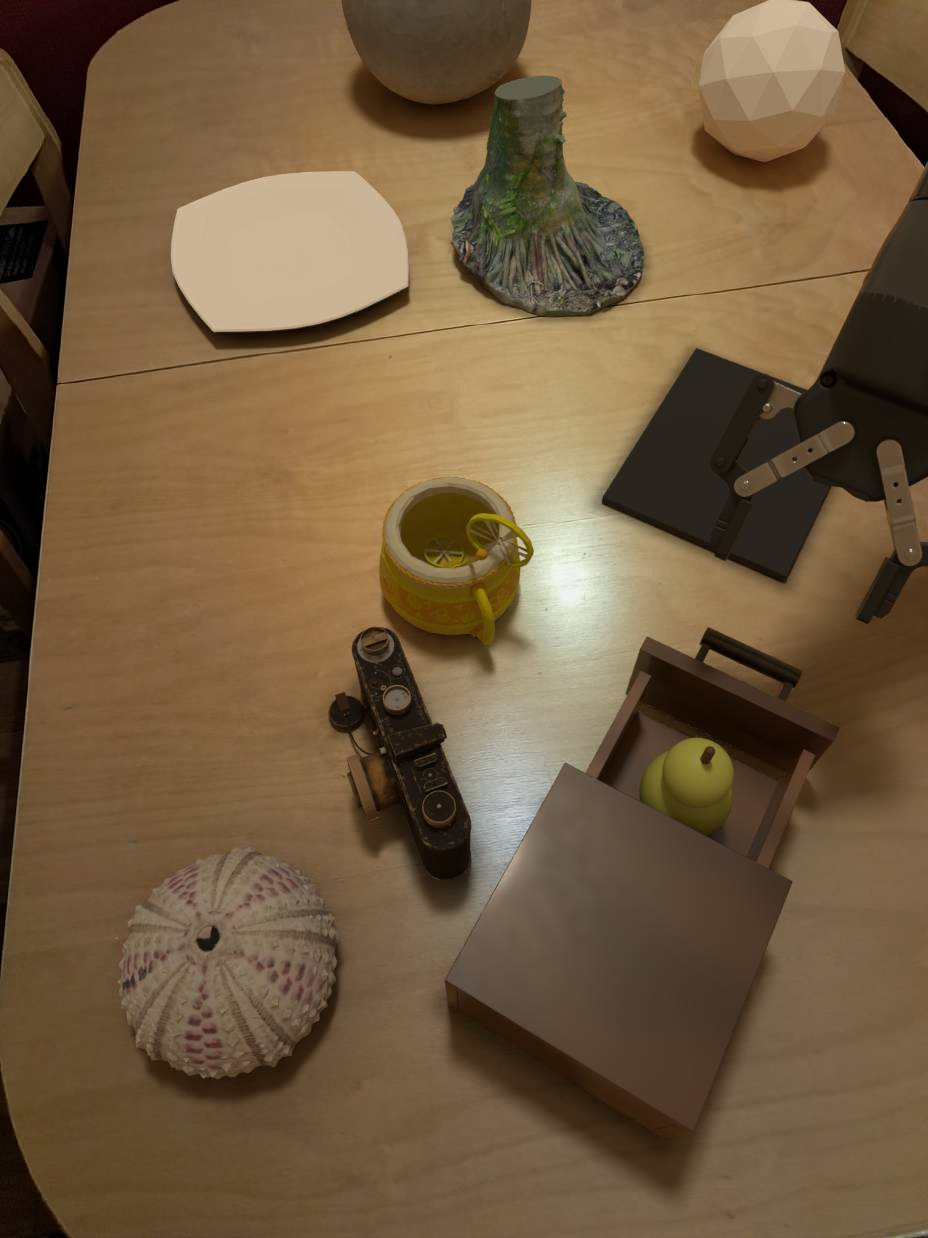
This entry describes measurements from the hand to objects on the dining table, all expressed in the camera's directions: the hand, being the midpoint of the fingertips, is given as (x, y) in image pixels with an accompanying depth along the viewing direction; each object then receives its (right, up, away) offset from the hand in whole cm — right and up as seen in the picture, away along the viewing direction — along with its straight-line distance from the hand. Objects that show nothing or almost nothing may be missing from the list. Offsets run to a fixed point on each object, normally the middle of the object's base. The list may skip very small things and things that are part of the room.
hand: (789, 588), depth 54 cm
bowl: (-22, +61, +56) cm, 85 cm away
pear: (-5, -15, +8) cm, 17 cm away
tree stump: (-11, +35, +41) cm, 55 cm away
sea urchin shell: (-33, -24, +5) cm, 41 cm away
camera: (-24, -13, +12) cm, 29 cm away
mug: (-20, 0, +20) cm, 28 cm away
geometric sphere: (+13, +50, +50) cm, 72 cm away
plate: (-36, +34, +40) cm, 64 cm away
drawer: (-3, -13, +11) cm, 17 cm away
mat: (+5, +12, +27) cm, 29 cm away
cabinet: (-10, -24, +5) cm, 26 cm away
